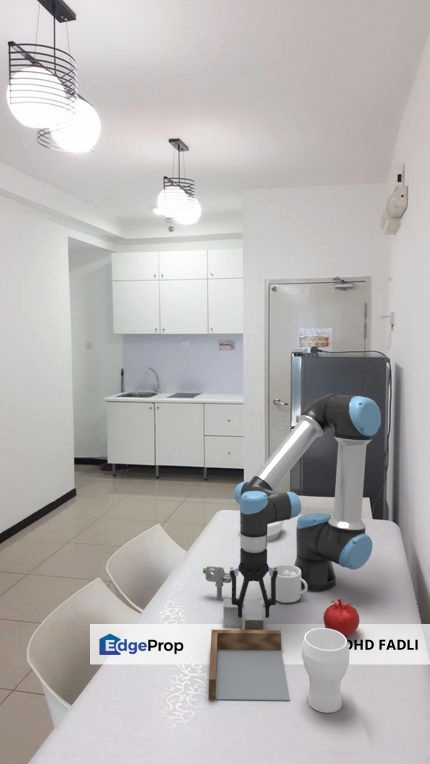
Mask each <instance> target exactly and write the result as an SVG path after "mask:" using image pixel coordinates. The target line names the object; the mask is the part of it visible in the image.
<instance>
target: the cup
mask: <svg viewBox="0 0 430 764" xmlns="http://www.w3.org/2000/svg"><path fill="white" fill-rule="evenodd" d="M345 636H346V635H343V634H341V633H340V632H338V631H335V630H332V629H327V628H326V627H318V628H313V629H312V628H311V629H310V630H309V631H308V630H307V632H306V633H305V634H304V638H303V642H302V645H301V659H302V662H303V666H304V669H305V671H306V673H307V675H308V679H309V689H308V693H307V703H308V705H309V706H310V707H311V708H312V709H314V710H315V711H318V712H321V713H325V714H330V713H335V712H338V711H339V710H340V709H341V708H342V706H343V701H342V699H343V698H342V692H341V685H342V684H341V683H342V679H344V677H345V675H346V673H347V670H348V667H349V664H350V648H349V644H348V640H347V638H346V637H345Z"/></svg>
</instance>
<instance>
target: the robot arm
mask: <svg viewBox="0 0 430 764" xmlns="http://www.w3.org/2000/svg"><path fill="white" fill-rule="evenodd" d="M380 410H381V409H380V407H379V406H378V405H377V402H376V401H375V400H373V399H371V398H369V397H366V396H361V395H350V394H349V395H346V394H339V393H329V394H326V395H323V396H321V397H319V398H318V399H316V400H314V401H313V402H312V403H311V404H309V406H308V407H306V408H305V410H304V411H303V412H302V413H301V414H300V415H299V416H298V418H297V419H298V420H297V421H298V423H297V424H296V425H295V426H294V427H293V428H292V430H291V431H290V432H289V433H288V434H287V435H286V437H285V438H284V440H282V442H281V443H280V444H279V446H277V448H276V449H275V450H274V451H273V453H272V454H271V455H270V456H269V457H268V459H267V460H266V461H265V462H264V463H263V465H262V466H261V467H260V468H259V470H257V472H256V473H255V474H254V476H253V477H252V478H251V479H250V481H242V482H240V483H238V484H237V485H236V487H235V489H234V493H233V496H234V500H235V501H236V503H237V504H238V505H239V520H240V522H239V525H240V526H239V529H240V533H239V534H240V535H239V537H240V538H239V545H240V549H239V551H240V552H239V553H240V554H239V560H240V561H239V564H238V566H237V567H230V569H229V572H230V575H231V578H232V581H231V599H232V605H237V606H238V617H239V618H242V627H241V630H245V603H243V602H244V599H246V594H247V591H248V590H247V589H248V587H249V583H250V582H257V583H259V584H258V585H259V588H260V592H261V596H262V600H263V603H262V602H261V605H262V614H263V630H266V619H267V618H269V617H270V608H271V606H276V605H277V601H276V577H277V575H278V572H277V568H272V567H270V566H269V564H268V549H267V548H268V542H267V526H268V524H272V523H275V522H279V521H284V522H285V521H289V520H291V519H294V518H297V517H298V516H299V517H298V518H297V521H296V531H295V533H296V558H295V561H294V566H296V567H298V568H299V569H300V570H301V578H302V579H303V580H305V582H306V583H307V586H308V588H307V591H312V592H313V591H315V592H322V591H327V590H328V591H329V590H331V589H333V588H334V587H335V586H336V585H337V574H336V571H335V568H334V565H333V563H334V564H336V565H339V566H340V567H342V568H347V569H348V570H358V569H360V568H362V567H363V566H364V565H365V564H367V562H368V561H369V559H370V557H371V555H372V552H373V541H372V539H371V537H370V536H369V535H368V534H366V530H367V529H366V524H365V523H364V521H363V520H362V513H363V511H362V510H363V498H364V497H363V496H364V482H365V481H364V480H365V470H366V469H365V468H366V467H365V465H366V453H367V445H368V444H369V443H370V442H371V441H373V439H372V438H373V436H374V435H375V434H377V432H378V431H379V429H380V428H381V425H382V423H381V422H382V415H381V411H380ZM329 430H334V431H333V438H334V439H335V440H336V441H337V443H338V444H337V446H338V447H337V460H336V473H335V474H336V475H335V491H334V505H333V516H331V514H329V513H325V512H312V513H305V514H302V515H300V514H301V512H302V501H301V499H300V497H299V495H298V494H296V493H295V492H293V491H284V492H277V491H275V490H276V489H277V487H278V486H279V485H280V483H281V482H282V481H283V480H284V479H285V477H286V476H287V474H288V473H290V471H291V470H292V469H293V467H294V466H295V465H296V464H297V462H298V461H299V460H300V458H301V457H302V456H303V455H304V453H305V452H306V451H307V450H308V448H310V446H311V445H312V443H314V441H315V440H316V438H319V437H322V436H323V434H325V433H326V432H327V431H329ZM239 573H240V574H241V575H242V577H243V580H242V584H241V589H240V591H239V592H240V593H239V596H238V598H237V577H238V576H239ZM268 573H269V574H268ZM267 574H268V575H269V576H270V598H269V597H268V593H267V589H266V585H265V581H264V578H265V576H266V575H267ZM304 589H305V585H304V583H303V582H302V581H301V590H304Z"/></svg>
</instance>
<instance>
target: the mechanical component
mask: <svg viewBox="0 0 430 764" xmlns="http://www.w3.org/2000/svg"><path fill="white" fill-rule="evenodd" d="M202 573H203V574H205V575H204V576H205V580H206V581H207V582H212V583H215V584H214V585H215V587H216V600H217V599H218V600H217V601H221V600H222V599H223V592H222V591H223V587H224V583H225V584H230V583H232V578H231V575H230V571H229V572H226V571H225V568H224V567H222V566H210V565H209V566H208V565H206V567H203V570H202ZM221 598H222V599H221Z"/></svg>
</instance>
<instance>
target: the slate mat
mask: <svg viewBox="0 0 430 764" xmlns="http://www.w3.org/2000/svg"><path fill="white" fill-rule="evenodd" d="M282 651H283V650H282V649H281V650H217V678H216V700H215V701H237V702H238V701H242V702H243V701H246V702H247V701H250V702H251V701H252V702H263V701H264V702H291V701H290V694H289V687H288V682H287V676H286V669H285V662H284V658H283V652H282Z"/></svg>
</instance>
